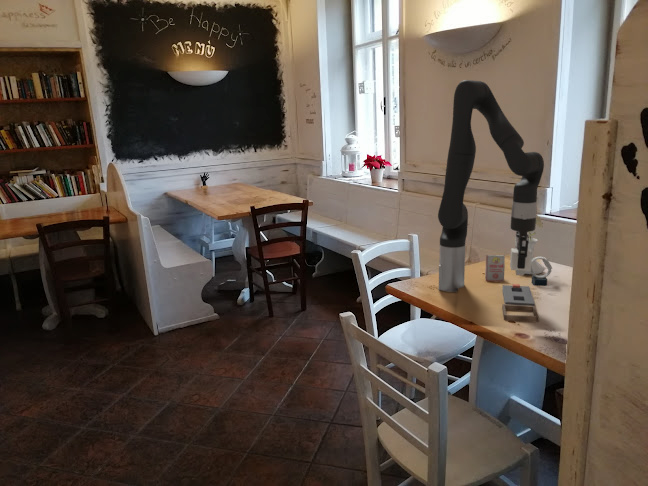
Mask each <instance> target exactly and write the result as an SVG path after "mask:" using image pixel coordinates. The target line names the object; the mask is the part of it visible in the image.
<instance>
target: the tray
mask: <svg viewBox="0 0 648 486" xmlns="http://www.w3.org/2000/svg"><path fill="white" fill-rule="evenodd" d="M501 309H502V316H503V320H505V321H518V322H533V323H534V322H535V323H538V322H539V319H540V318H539V313H538V311H537V308H536V306H525V305H508V304H505V303H502V307H501ZM508 310H509V311H522V312H523V311H524V312H532V313H533V315H523V314H507V311H508Z"/></svg>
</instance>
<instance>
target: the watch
mask: <svg viewBox="0 0 648 486" xmlns="http://www.w3.org/2000/svg"><path fill="white" fill-rule="evenodd" d="M535 260H542V262H543V264H544V266H545V268H546V269H547V272H546V273H545V274H535V273H534V272H533V269H532V265H531V273H532V274H531V284H532V285H533V286H534V287H538V286H539V287H541V286H542V287H548V278H547V277H549V276H550V274H551V273H552V270H553V267H552V265H551V263H550V261H549V259H547V257H544V256H541V255H539V256H535V257H534V258H533V259H532V260H531V264H532V262H534V261H535Z"/></svg>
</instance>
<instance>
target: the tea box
mask: <svg viewBox="0 0 648 486" xmlns="http://www.w3.org/2000/svg"><path fill="white" fill-rule="evenodd" d="M505 261H506V260H505V255H502V254H501V255H500V254H499V255H496V254H493V255H492V254H486V256H485V275H484V279H485V281H486V282H505V269H506V265H505V264H506V263H505Z"/></svg>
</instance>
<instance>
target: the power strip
mask: <svg viewBox="0 0 648 486" xmlns="http://www.w3.org/2000/svg"><path fill="white" fill-rule="evenodd" d="M501 291H502V296H503V301H504V303H503V304H508V305H525V306H535V305H536V303H535V300H534V297H533V294H532V290H531V287H530V286H528V285H521V284H519V283H512V285H509V284H508V285H504V284H503V285H502V290H501ZM535 307H536V306H535Z"/></svg>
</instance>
